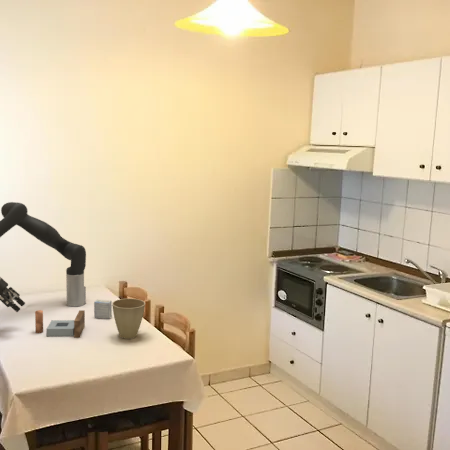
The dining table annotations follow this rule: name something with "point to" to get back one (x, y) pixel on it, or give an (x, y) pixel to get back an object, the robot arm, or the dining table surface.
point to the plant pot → (128, 316)
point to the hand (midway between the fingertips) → (21, 307)
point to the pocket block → (60, 328)
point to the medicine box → (103, 309)
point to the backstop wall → (79, 323)
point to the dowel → (39, 321)
